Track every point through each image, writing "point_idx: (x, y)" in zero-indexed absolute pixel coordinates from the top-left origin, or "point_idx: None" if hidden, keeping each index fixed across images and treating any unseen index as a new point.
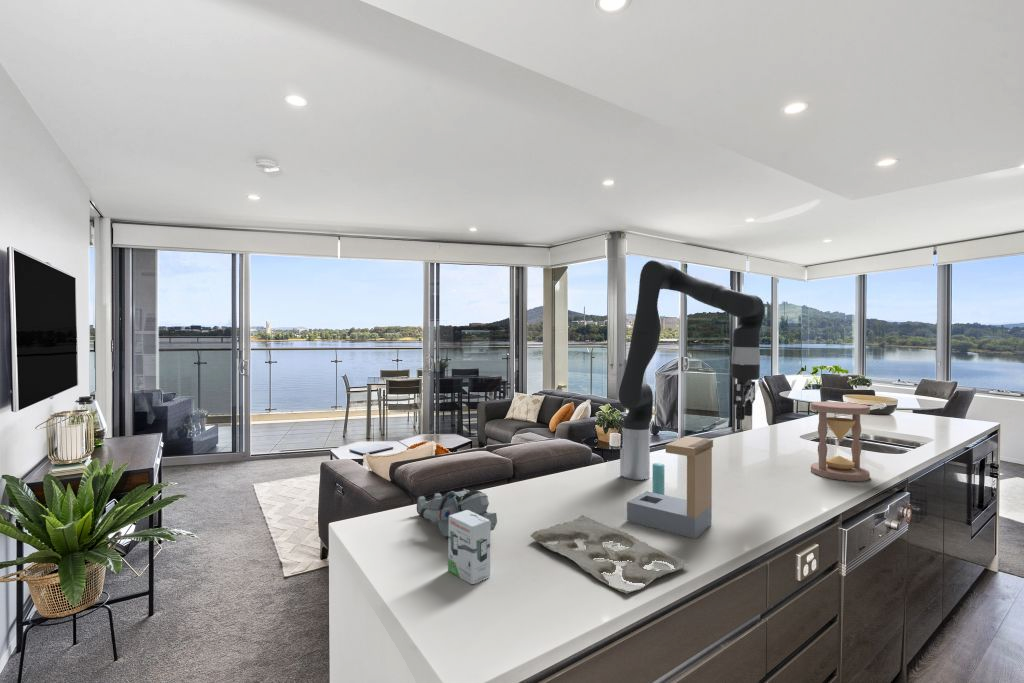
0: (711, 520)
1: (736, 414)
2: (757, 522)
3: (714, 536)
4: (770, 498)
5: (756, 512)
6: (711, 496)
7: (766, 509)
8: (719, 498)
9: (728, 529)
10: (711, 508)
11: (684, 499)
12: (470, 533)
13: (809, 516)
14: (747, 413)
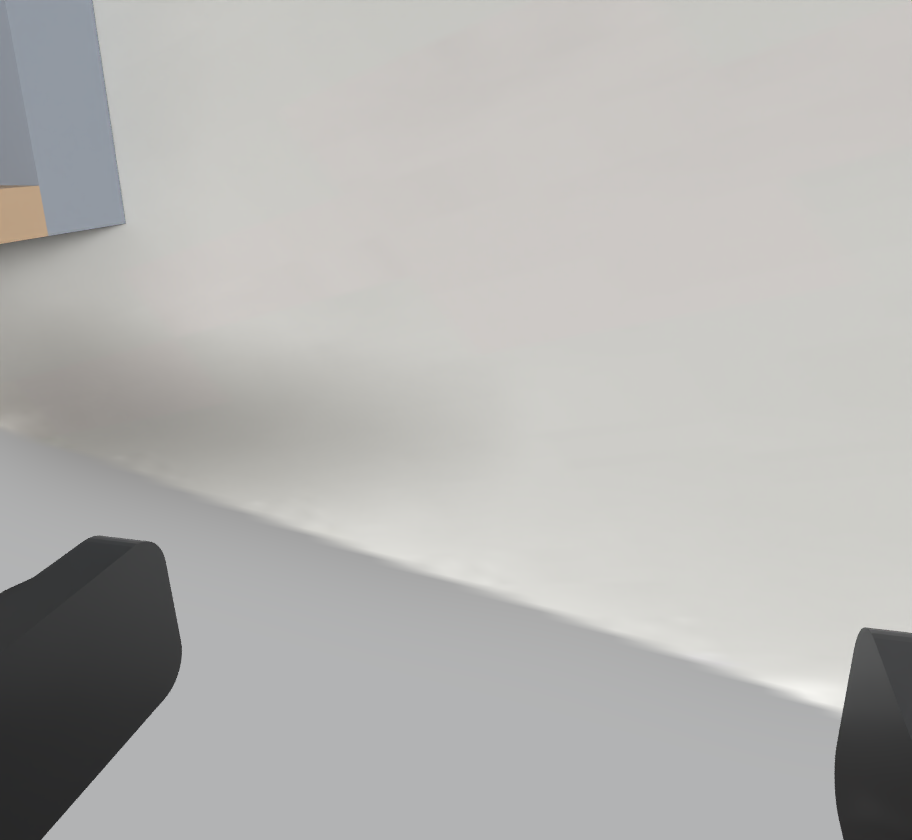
0: (110, 225)
1: (30, 595)
2: (321, 413)
3: (9, 283)
4: (866, 408)
5: (481, 380)
6: (2, 242)
7: (580, 420)
8: (629, 94)
9: (129, 314)
10: (59, 233)
11: (10, 46)
12: None
13: (604, 624)
14: (865, 747)
